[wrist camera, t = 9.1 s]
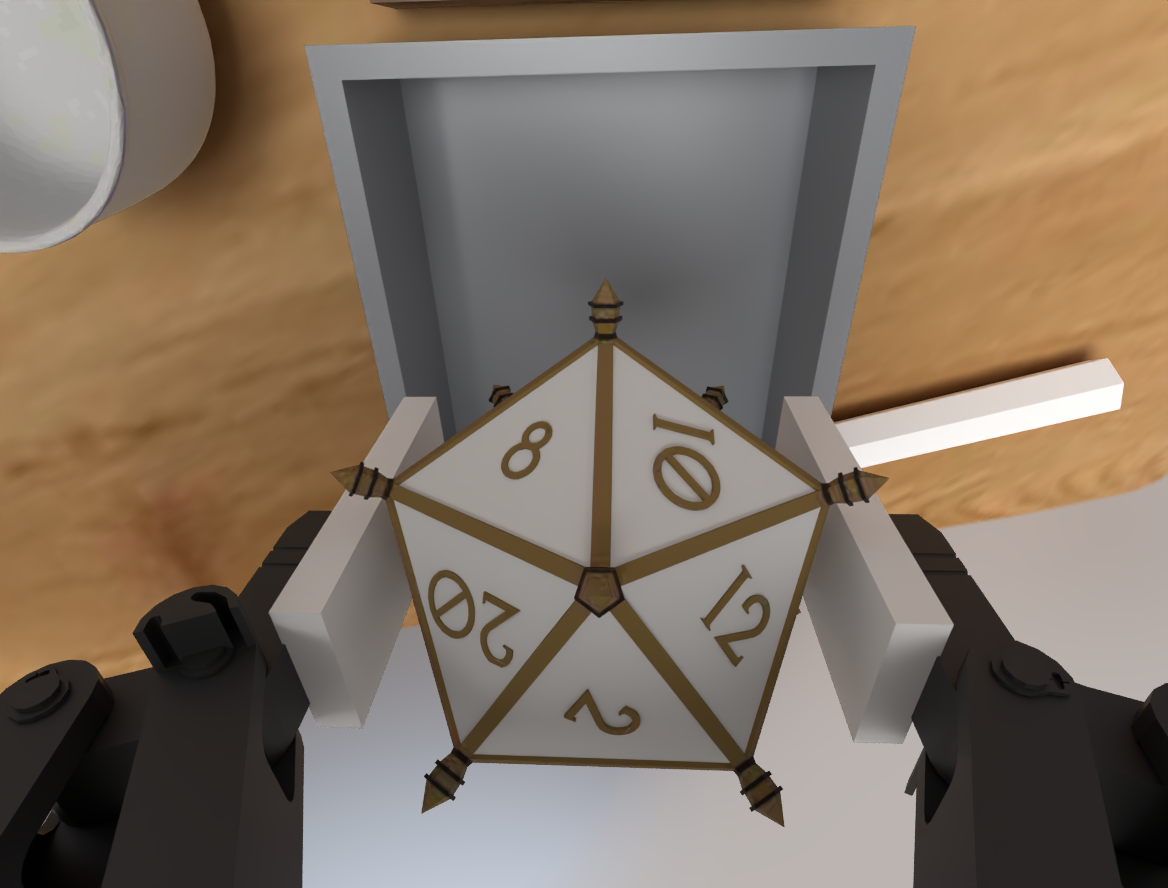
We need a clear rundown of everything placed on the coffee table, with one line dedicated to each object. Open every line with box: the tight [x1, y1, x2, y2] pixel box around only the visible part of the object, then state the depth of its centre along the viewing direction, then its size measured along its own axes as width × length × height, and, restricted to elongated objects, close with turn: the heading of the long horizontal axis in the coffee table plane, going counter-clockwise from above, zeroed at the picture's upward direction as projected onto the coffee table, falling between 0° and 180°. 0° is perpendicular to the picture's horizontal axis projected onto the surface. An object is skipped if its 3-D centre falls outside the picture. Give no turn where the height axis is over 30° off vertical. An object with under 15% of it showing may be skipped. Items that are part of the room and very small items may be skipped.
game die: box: [331, 278, 889, 827], centre depth 11 cm, size 9×8×10 cm
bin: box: [305, 26, 916, 449], centre depth 23 cm, size 16×17×6 cm
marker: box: [834, 358, 1124, 468], centre depth 27 cm, size 3×2×16 cm
